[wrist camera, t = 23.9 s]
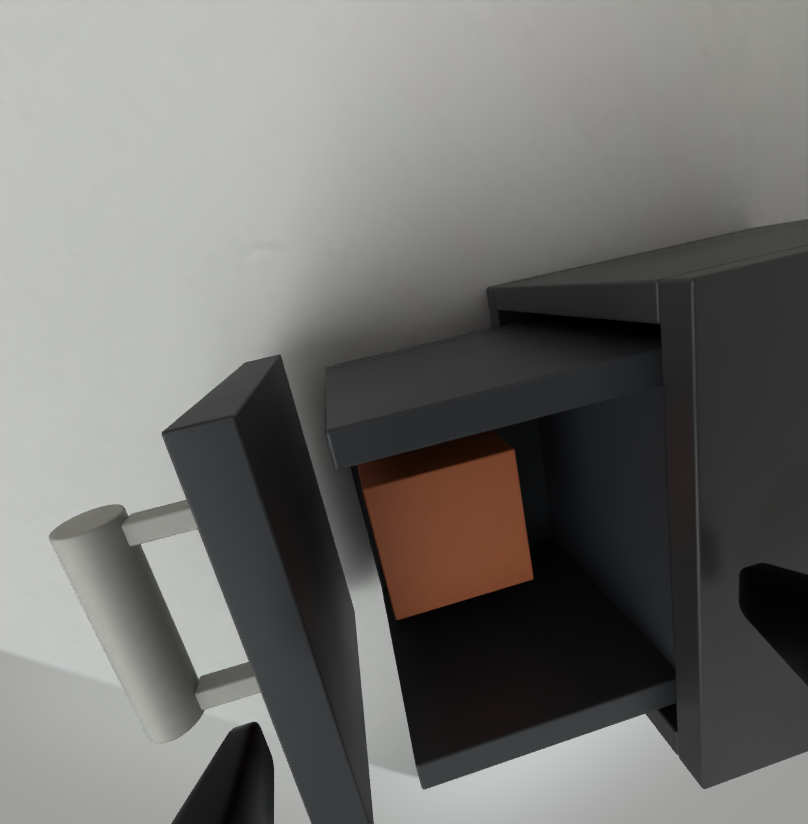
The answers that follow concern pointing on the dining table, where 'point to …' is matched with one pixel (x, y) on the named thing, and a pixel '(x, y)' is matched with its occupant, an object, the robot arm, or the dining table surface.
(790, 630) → the robot arm
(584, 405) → the drawer
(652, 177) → the dining table surface
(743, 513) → the cabinet
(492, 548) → the block
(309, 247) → the dining table surface
